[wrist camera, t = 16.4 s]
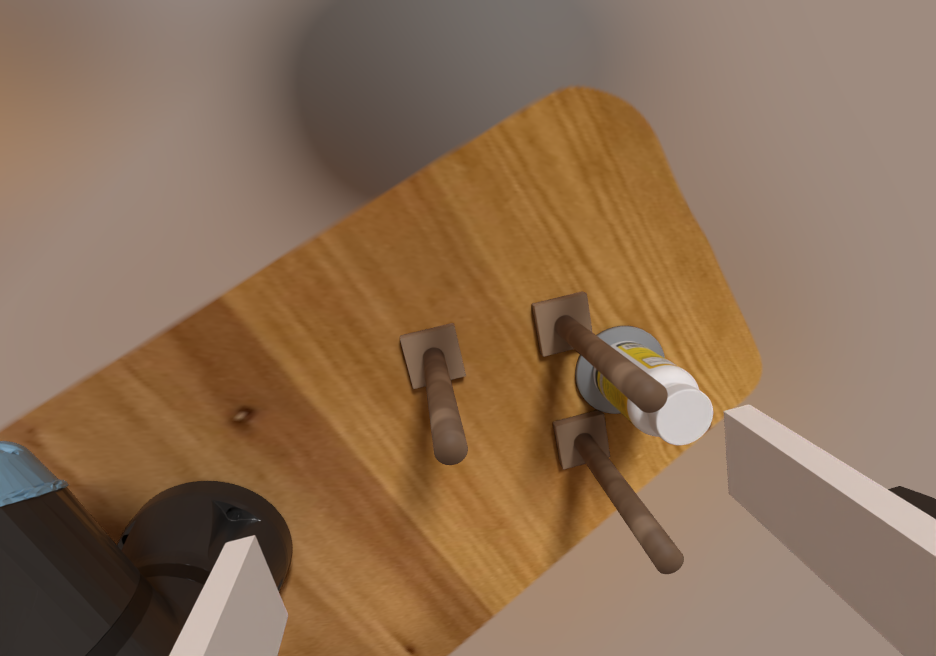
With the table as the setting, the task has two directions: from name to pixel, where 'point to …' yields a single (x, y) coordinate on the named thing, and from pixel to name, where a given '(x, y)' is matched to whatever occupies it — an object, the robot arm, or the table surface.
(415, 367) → the post
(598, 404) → the coaster
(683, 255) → the table surface
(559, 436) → the post
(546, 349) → the post corner
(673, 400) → the pill bottle
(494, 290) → the table surface
